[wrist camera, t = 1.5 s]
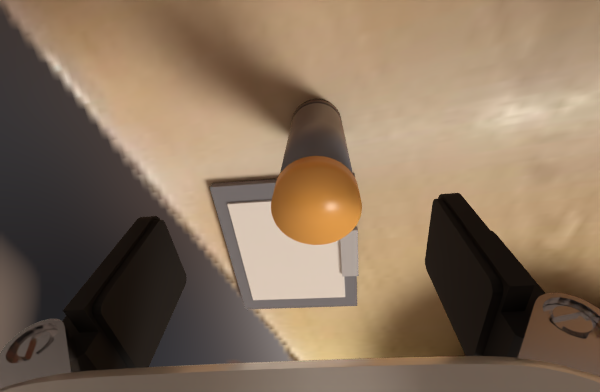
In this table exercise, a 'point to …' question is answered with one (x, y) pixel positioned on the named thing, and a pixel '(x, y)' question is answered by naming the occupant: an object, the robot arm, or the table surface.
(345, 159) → the orange topped gray cylinder
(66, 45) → the table surface
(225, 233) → the clipboard
